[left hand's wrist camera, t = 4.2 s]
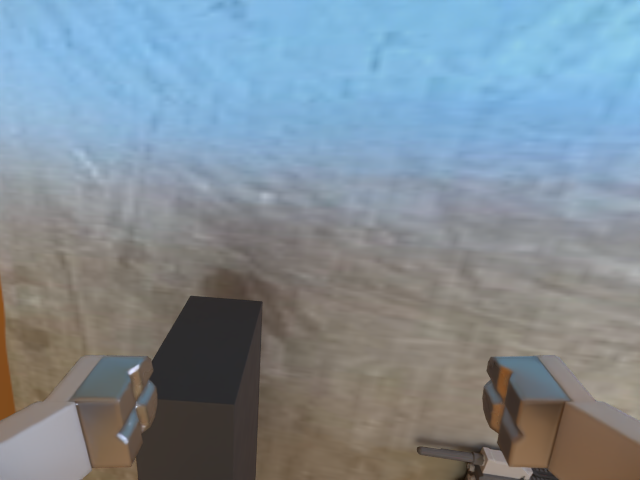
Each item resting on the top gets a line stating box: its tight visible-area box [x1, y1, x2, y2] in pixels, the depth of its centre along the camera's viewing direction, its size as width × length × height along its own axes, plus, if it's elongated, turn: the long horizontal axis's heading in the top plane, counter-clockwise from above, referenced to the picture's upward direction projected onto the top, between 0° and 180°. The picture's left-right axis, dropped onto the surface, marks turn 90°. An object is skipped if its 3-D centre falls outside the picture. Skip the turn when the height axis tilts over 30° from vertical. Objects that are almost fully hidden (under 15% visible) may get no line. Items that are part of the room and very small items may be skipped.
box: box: [136, 296, 262, 480], centre depth 36 cm, size 24×6×12 cm, turn 175°
